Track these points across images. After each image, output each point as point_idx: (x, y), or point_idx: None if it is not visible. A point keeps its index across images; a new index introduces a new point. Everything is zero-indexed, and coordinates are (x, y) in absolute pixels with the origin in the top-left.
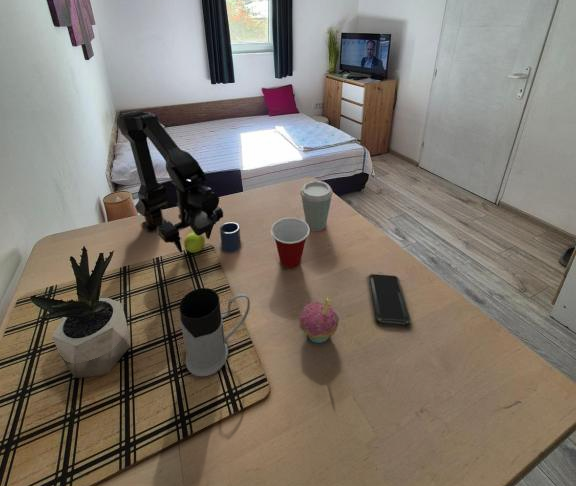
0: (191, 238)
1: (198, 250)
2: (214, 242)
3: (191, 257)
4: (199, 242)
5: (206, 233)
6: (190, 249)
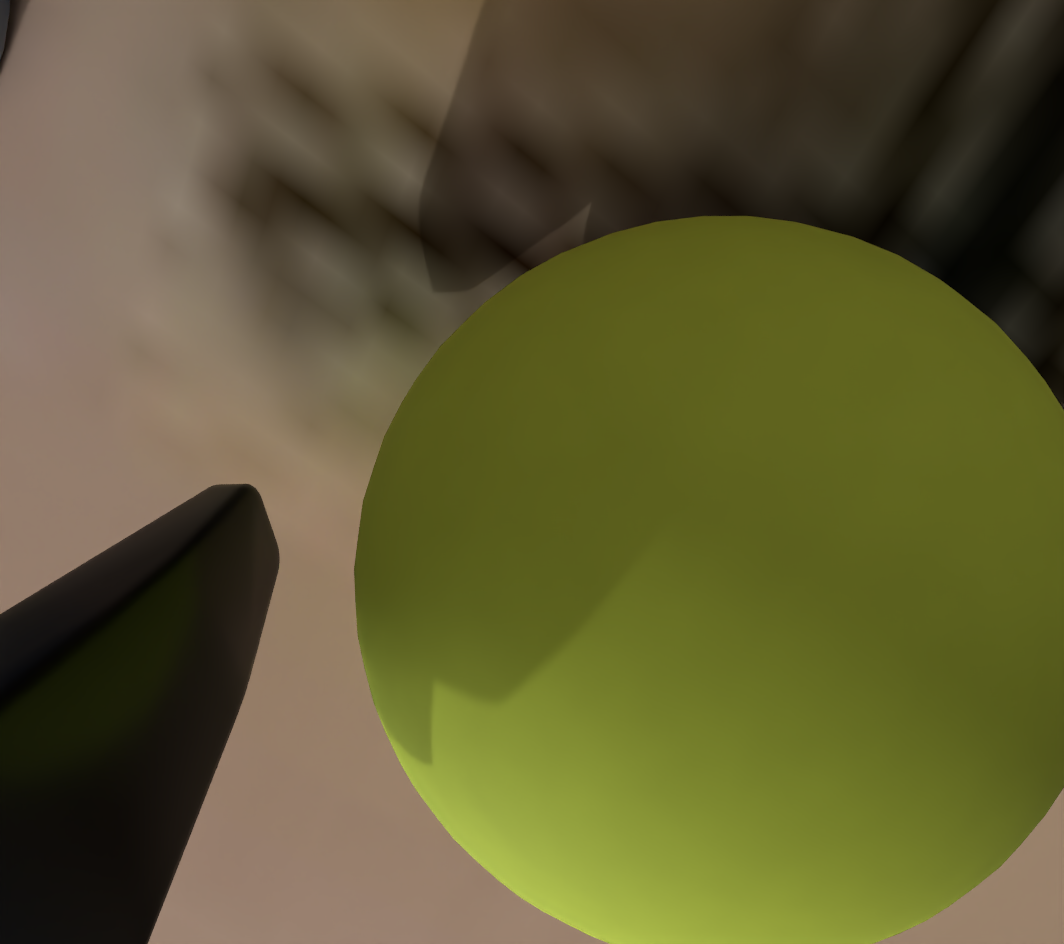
0: (926, 759)
1: (749, 220)
2: (167, 364)
3: (966, 211)
4: (658, 386)
5: (203, 667)
6: (1034, 369)
